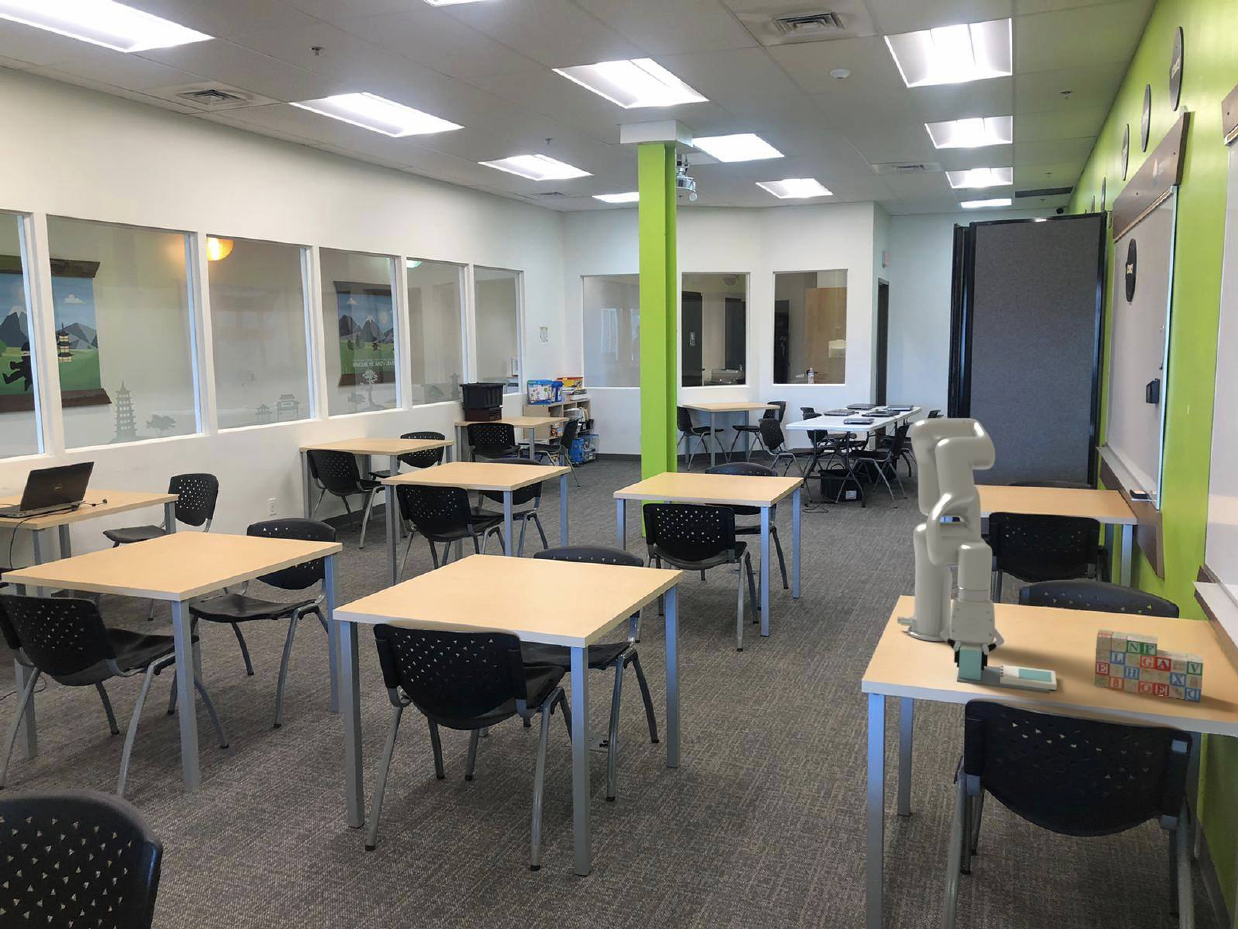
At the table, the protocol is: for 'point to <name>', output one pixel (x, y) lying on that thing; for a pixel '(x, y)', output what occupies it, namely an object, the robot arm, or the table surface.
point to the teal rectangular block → (970, 660)
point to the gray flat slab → (1016, 678)
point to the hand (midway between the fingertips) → (970, 666)
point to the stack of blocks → (1146, 666)
